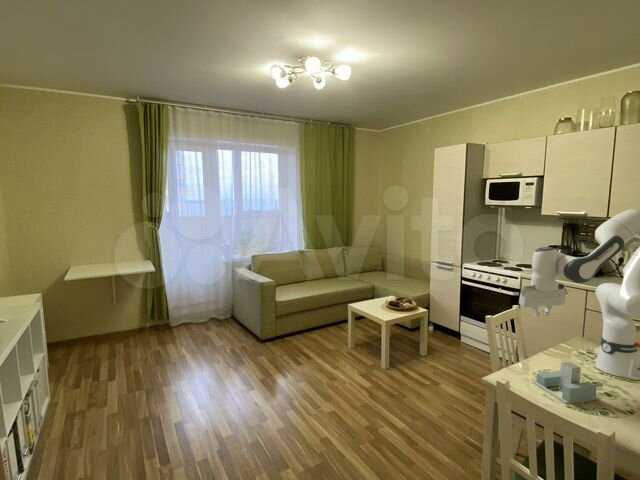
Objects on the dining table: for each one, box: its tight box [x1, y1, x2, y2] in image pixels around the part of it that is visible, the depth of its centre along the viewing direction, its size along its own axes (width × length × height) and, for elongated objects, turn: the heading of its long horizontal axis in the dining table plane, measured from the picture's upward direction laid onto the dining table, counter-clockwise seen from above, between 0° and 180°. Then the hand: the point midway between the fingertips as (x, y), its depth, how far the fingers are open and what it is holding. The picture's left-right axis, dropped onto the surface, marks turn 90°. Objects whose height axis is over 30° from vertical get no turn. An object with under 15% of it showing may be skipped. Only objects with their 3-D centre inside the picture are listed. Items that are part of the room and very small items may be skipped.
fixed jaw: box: [532, 380, 600, 405], centre depth 139 cm, size 15×16×6 cm
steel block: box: [558, 361, 582, 394], centre depth 136 cm, size 4×5×12 cm
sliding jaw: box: [536, 370, 560, 388], centre depth 144 cm, size 12×4×4 cm, turn 100°
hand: (541, 315), depth 149 cm, fingers open, 3 cm apart
